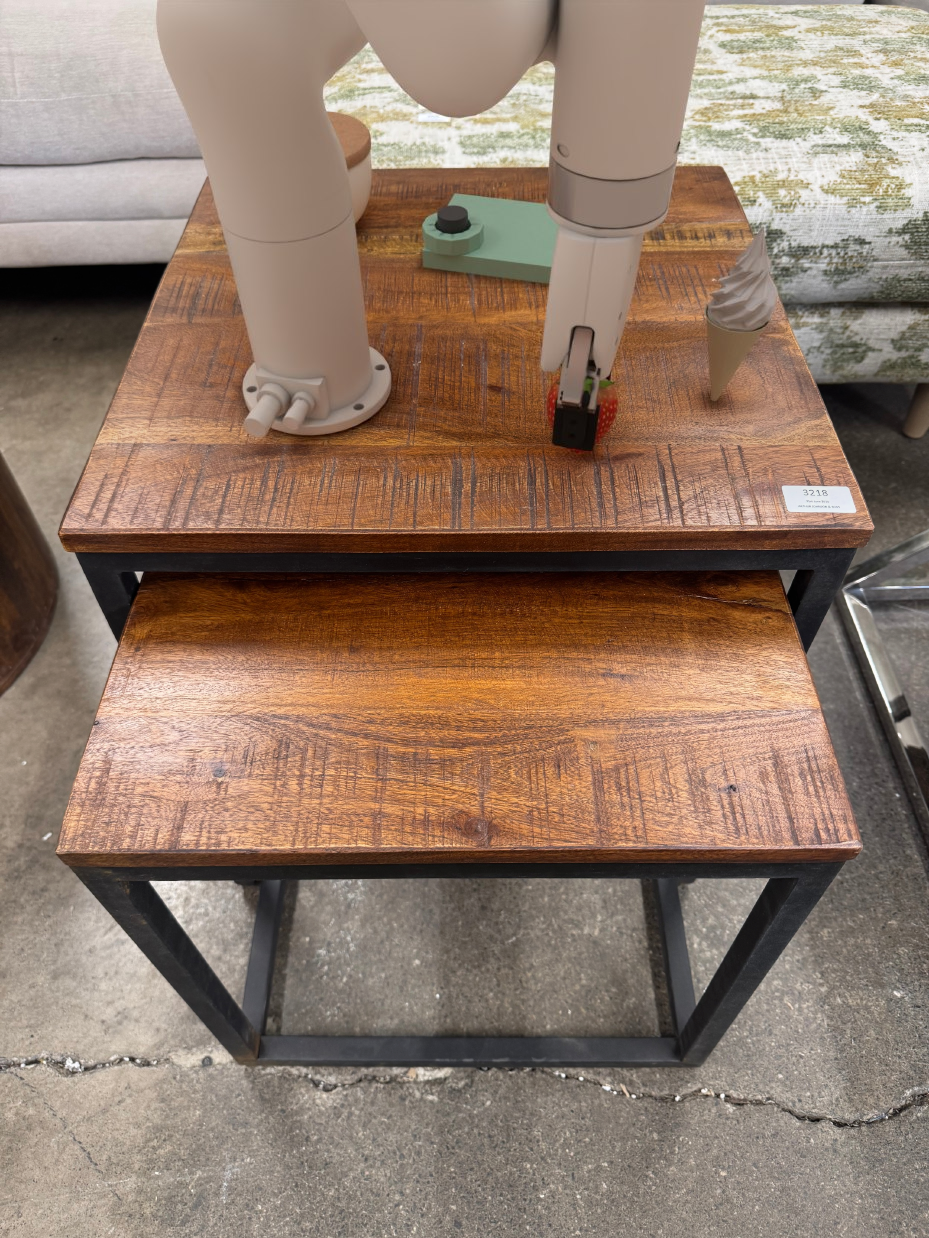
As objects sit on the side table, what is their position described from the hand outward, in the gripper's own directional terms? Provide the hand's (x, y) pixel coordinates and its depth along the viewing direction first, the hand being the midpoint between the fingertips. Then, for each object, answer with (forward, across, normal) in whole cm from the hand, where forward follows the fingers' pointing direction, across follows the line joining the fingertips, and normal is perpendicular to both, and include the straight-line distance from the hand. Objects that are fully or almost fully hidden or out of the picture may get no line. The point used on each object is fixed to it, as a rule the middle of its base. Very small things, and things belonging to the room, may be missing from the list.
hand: (580, 420), depth 65 cm
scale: (+3, -29, -13) cm, 32 cm away
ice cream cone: (+3, -9, +10) cm, 14 cm away
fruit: (+3, 0, 0) cm, 3 cm away
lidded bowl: (+3, -28, -33) cm, 43 cm away
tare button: (0, -26, -17) cm, 31 cm away
